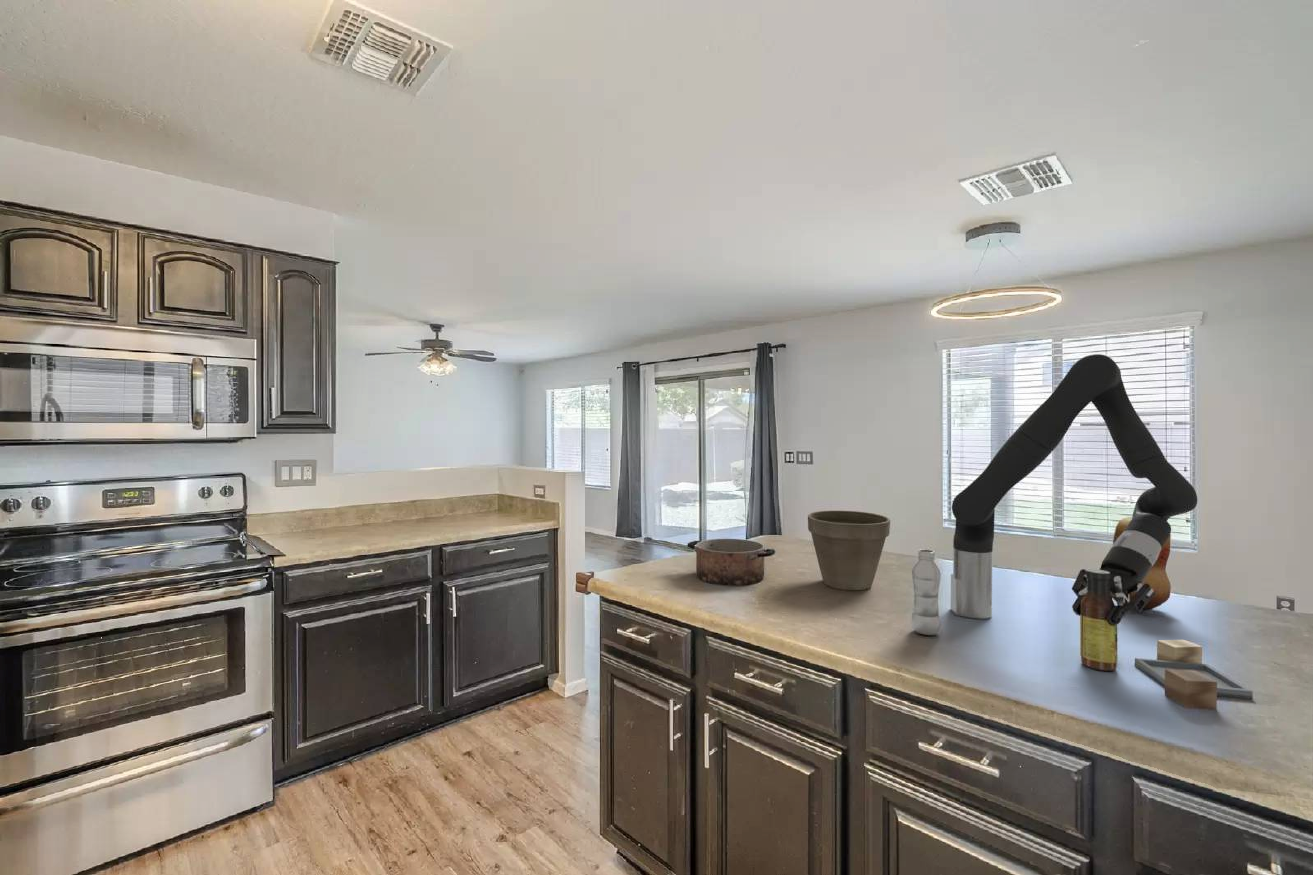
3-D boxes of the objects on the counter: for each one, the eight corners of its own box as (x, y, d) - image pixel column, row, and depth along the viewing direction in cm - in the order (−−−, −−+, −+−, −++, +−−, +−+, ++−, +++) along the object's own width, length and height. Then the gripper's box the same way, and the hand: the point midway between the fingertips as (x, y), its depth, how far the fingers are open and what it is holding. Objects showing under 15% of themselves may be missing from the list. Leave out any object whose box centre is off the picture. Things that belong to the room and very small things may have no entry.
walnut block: (1185, 708, 105) (1186, 680, 105) (1164, 695, 110) (1165, 669, 110) (1216, 709, 104) (1217, 681, 104) (1193, 696, 109) (1194, 670, 109)
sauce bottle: (1123, 673, 119) (1126, 576, 118) (1089, 671, 120) (1091, 574, 120) (1106, 660, 125) (1108, 568, 125) (1073, 658, 127) (1075, 566, 126)
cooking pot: (673, 578, 193) (673, 546, 193) (704, 564, 212) (704, 535, 212) (760, 592, 177) (760, 556, 177) (785, 576, 196) (785, 544, 196)
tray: (1171, 691, 111) (1171, 684, 111) (1134, 665, 123) (1134, 658, 123) (1252, 699, 108) (1252, 691, 108) (1206, 671, 120) (1206, 664, 120)
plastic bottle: (938, 630, 144) (939, 549, 144) (942, 640, 138) (943, 555, 137) (909, 627, 146) (910, 547, 146) (912, 636, 140) (913, 553, 139)
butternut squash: (1151, 620, 151) (1153, 523, 151) (1095, 605, 164) (1097, 516, 163) (1181, 613, 157) (1183, 520, 156) (1125, 599, 169) (1126, 513, 169)
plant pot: (890, 599, 169) (891, 524, 169) (802, 591, 178) (803, 519, 177) (889, 578, 192) (889, 512, 192) (811, 571, 201) (812, 508, 201)
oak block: (1174, 668, 122) (1174, 647, 122) (1156, 661, 126) (1157, 640, 126) (1201, 668, 122) (1202, 646, 122) (1183, 660, 126) (1183, 639, 126)
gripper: (1088, 539, 131) (1050, 597, 128) (1162, 552, 118) (1122, 617, 114) (1104, 560, 133) (1066, 618, 130) (1178, 576, 120) (1139, 641, 116)
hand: (1092, 617), depth 122 cm, fingers closed on sauce bottle, 6 cm apart
